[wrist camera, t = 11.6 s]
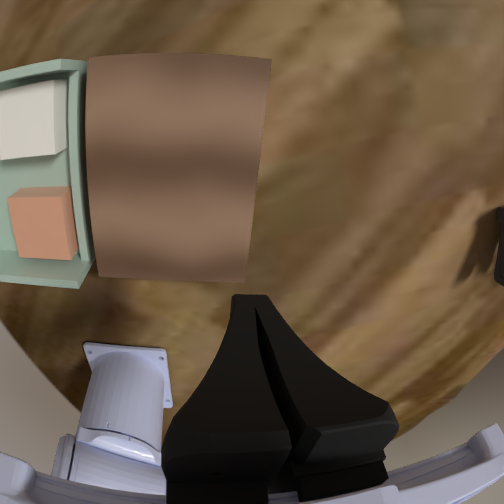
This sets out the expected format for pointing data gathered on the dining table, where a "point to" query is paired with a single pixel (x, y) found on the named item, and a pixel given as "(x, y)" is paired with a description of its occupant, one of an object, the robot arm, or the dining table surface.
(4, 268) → the green bin
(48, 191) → the terracotta tile
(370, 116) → the dining table surface
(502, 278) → the clip-on lamp
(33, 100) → the white tile
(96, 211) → the walnut plate
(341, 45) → the dining table surface
